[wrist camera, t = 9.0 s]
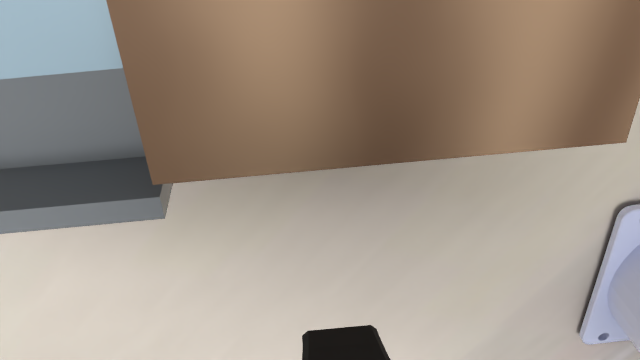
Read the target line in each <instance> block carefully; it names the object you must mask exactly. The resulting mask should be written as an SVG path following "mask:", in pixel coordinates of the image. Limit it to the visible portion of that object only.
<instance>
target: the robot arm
mask: <svg viewBox="0 0 640 360" xmlns="http://www.w3.org/2000/svg"><path fill="white" fill-rule="evenodd" d="M579 336H580V338H581V339H582V341H583V342H584V343H585V344H598V343H607V342H616V341H625V340H631V342H632V343H633V345H634V346H635V347H636V349H637V350H638V352H639V353H640V204H637V205H630V206H627V207H625V208H623V209H622V210H621V211H620V212H619V214H618V216H617V218H616V221H615V225H614V228H613V231H612V234H611V237H610V240H609V243H608V246H607V249H606V253H605V256H604V259H603V262H602V265H601V268H600V271H599V274H598V277H597V280H596V284H595V287H594V290H593V293H592V296H591V299H590V302H589V305H588V308H587V312H586V315H585V318H584V321H583V324H582V327H581V330H580V333H579ZM302 339H303V356H302V360H390V358H389V356H388V354H387V352H386V350H385V348H384V346H383V344H382V341H381V339H380V337H379V335H378V332H377V329H376V328H374V327H373V326H371V325H367V326H356V327H345V328H335V329H324V330H313V331H307V332H306V333H305V334H304V335H303V336H302Z"/></svg>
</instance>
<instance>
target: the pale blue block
mask: <svg viewBox="0 0 640 360" xmlns="http://www.w3.org/2000/svg"><path fill="white" fill-rule="evenodd" d="M118 68H123V65H122V61H121V57H120V53H119V49H118V45H117V41H116V37H115V33H114V29H113V25H112V22H111V18H110V14H109V10H108V6H107V2H106V0H0V79H10V78H20V77H31V76H42V75H53V74H64V73H75V72H85V71H96V70H107V69H118Z"/></svg>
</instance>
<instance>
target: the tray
mask: <svg viewBox="0 0 640 360" xmlns="http://www.w3.org/2000/svg"><path fill="white" fill-rule="evenodd" d="M172 184H173V183H169V184H158V185H153V184H152V180H151V176H150V172H149V168H148V164H147V160H146V156H145V152H144V148H143V144H142V140H141V136H140V133H139V129H138V125H137V121H136V117H135V113H134V109H133V105H132V101H131V97H130V93H129V89H128V85H127V81H126V77H125V73H124V69H123V68H118V69H107V70H96V71H85V72H75V73H64V74H53V75H42V76H31V77H20V78H10V79H0V234H5V233H15V232H26V231H36V230H47V229H58V228H68V227H79V226H90V225H100V224H111V223H122V222H132V221H143V220H154V219H164V218H165V216H166V212H167V207H168V202H169V198H170V193H171V189H172Z"/></svg>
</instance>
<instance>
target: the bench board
mask: <svg viewBox="0 0 640 360" xmlns="http://www.w3.org/2000/svg"><path fill="white" fill-rule="evenodd" d="M106 2H107V6H108V10H109V14H110V18H111V22H112V25H113V29H114V33H115V37H116V41H117V45H118V49H119V53H120V57H121V61H122V65H123V69H124V73H125V77H126V81H127V85H128V89H129V93H130V97H131V101H132V105H133V109H134V113H135V117H136V121H137V125H138V129H139V133H140V136H141V140H142V144H143V148H144V152H145V156H146V160H147V164H148V168H149V172H150V176H151V180H152V184H153V185H158V184H169V183H180V182H191V181H202V180H214V179H225V178H236V177H247V176H258V175H269V174H280V173H291V172H303V171H314V170H325V169H336V168H347V167H358V166H369V165H380V164H391V163H403V162H414V161H425V160H436V159H447V158H458V157H469V156H480V155H492V154H503V153H514V152H525V151H536V150H547V149H558V148H569V147H581V146H592V145H603V144H614V143H625V142H626V141H627V138H628V134H629V131H630V128H631V124H632V121H633V118H634V115H635V111H636V108H637V105H638V102H639V98H640V0H106Z"/></svg>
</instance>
